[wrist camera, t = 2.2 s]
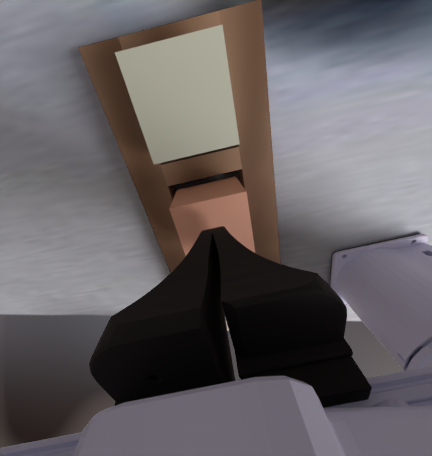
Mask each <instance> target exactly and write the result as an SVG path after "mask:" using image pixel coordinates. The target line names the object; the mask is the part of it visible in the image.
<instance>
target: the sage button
mask: <svg viewBox="0 0 432 456" xmlns="http://www.w3.org/2000/svg"><path fill="white" fill-rule="evenodd" d="M115 55H116V58H117V61H118V63H119V66H120V69H121V72H122V75H123V78H124V81H125V84H126V86H127V89H128V92H129V95H130V98H131V101H132V104H133V107H134V109H135V112H136V115H137V118H138V121H139V124H140V127H141V129H142V132H143V135H144V138H145V141H146V144H147V147H148V150H149V152H150V155H151V158H152V161H153V164H158V163H162V162H167V161H171V160H175V159H179V158H183V157H188V156H192V155H196V154H200V153H205V152H209V151H213V150H217V149H222V148H226V147H230V146H234V145H238V144H240V143H239V136H238V129H237V122H236V115H235V108H234V101H233V94H232V87H231V80H230V73H229V67H228V60H227V53H226V46H225V39H224V32H223V25H219V26H215V27H211V28H207V29H203V30H200V31H196V32H192V33H188V34H184V35H180V36H176V37H173V38H169V39H165V40H161V41H157V42H153V43H150V44H146V45H142V46H138V47H134V48H130V49H127V50H123V51H119V52H115Z"/></svg>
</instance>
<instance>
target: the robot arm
mask: <svg viewBox="0 0 432 456" xmlns="http://www.w3.org/2000/svg"><path fill="white" fill-rule="evenodd" d="M427 241H428V236H427V235H425V234H419V235H414V236H409V237H404V238H400V239H395V240H390V241H386V242H381V243H376V244H371V245H367V246H362V247H357V248H352V249H348V250H343V251H338V252H335V253H334V254H333V257H332V270H331V282H330V286H329V284H328V283H326V282H325V281H324V280H323V279H322V278H321V277H320V276H319V275H318V274H317V273H313V272H309V271H304V270H300V269H295V268H291V267H288V266H285V265H282V264H279V263H276V262H273V261H271V260H268V259H266V258H264V257H262V256H260V255H258V254H256V253H254V252H252V251H251V250H249V249H248V248H246V247H245V246H244V245H242V244H241V243H240V242H239V241H238V240H236V239H235V238H234V237H233V236H232V235H231V234H230V233H229V232H228V230H227V229H226V227H224V226H221V227H216V228H212V229H207V230H203V231H201V233H200V234H199V236H198V238H197V240H196V241H195V243H194V245H193V246H192V248H191V249H190V251H189V252H188V254H187V255H186V257H185V258H184V259H183V260H182V262H181V263H180V264H179V265H178V266H177V267H176V268H175V269H174V271H173V272H172V273H171V274H169V275H168V276H167V277H166V278H165V279H164V280H163V281H162V282H161V283H160V284H158V285H157V286H156V287H155V288H153V289H152V290H151V291H150V292H148V293H147V294H146V295H144V296H143V297H141V298H140V299H139V300H137V301H136V302H134V303H133V304H131V305H129V306H128V307H126V308H125V309H123V310H122V311H120V312H118V313H117V314H115V315H113V316H112V317H111V318H110V320H109V322H108V324H107V326H106V328H105V330H104V332H103V334H102V336H101V338H100V341H99V343H98V345H97V347H96V349H95V351H94V353H93V355H92V357H91V360H90V364H89V365H90V371H91V374H92V376H93V377H94V378H95V380H96V381H97V382H98V383H99V385H100V386H102V388H103V389H104V390H105V391H106V392H107V393H108V394H109V395H110V396H111V397H112V398H113V399H114V400H115V401H116V402H115V406H113V407H111V408H108V409H105V410H102V411H100V412H99V413H98V414H96V415H95V416H94V417H93V418H92V419H91V420H90V422H89V423H88V425H87V426H86V427H85V428H84V430H83V432H82V433H77V434H71V435H66V436H61V437H55V438H51V439H45V440H40V441H35V442H29V443H24V444H19V445H13V446H9V447H4V448H0V456H432V246H430V245H428V244H427ZM347 304H348V305H349V306H350V307H351V308H352V309H353V311H354V312H355V313H356V314H357V315H358V317H359V318H360V319H361V320H362V321H363V323H364V324H365V325H366V326H367V327H368V328H369V330H370V331H371V332H372V333H373V334H374V336H375V337H376V338H377V339H378V340H379V342H380V343H381V344H382V345H383V346H384V347H385V349H386V350H387V351H388V352H389V353H390V355H391V356H392V357H393V358H394V359H395V361H396V362H397V363H398V364H399V365H400V367H401V368H402V369H403V370H404V371H402V372H397V373H392V374H386V375H381V376H376V377H371V378H365V376H364V375H363V373H362V372H361V370H360V369H359V367H358V366H357V364H356V363H355V361H354V360H353V358H352V357H351V356H352V354H353V352H352V349H351V348H350V346H349V345H348V343H347V342H346V341H345V339H344V332H345V325H346V319H347V308H346V306H345V305H347ZM225 317H226V319H225ZM226 321H227V325H228V328H229V332H230V335H231V339H232V342H233V346H234V349H235V355H236V361H237V368H238V373H239V377H240V378H241V380H238V381H235V377H234V370H233V364H232V357H231V352H230V345H229V340H228V339H229V338H228V332H227V325H226Z"/></svg>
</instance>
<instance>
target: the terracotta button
mask: <svg viewBox="0 0 432 456" xmlns="http://www.w3.org/2000/svg"><path fill="white" fill-rule="evenodd" d="M169 210H170V213H171V216H172V218H173V221H174V224H175V227H176V230H177V233H178V236H179V238H180V241H181V244H182V247H183V250H184V253H185V256H186V255H187V254H188V252H189V251H190V249H191V248H192V246H193V245H194V243H195V241H196V240H197V238H198V236H199V234H200V233H201V231H203V230H207V229H212V228H216V227H221V226H224V227H226V229H227V230H228V232H229V233H230V234H231V235H232V236H233V237H234V238H235V239H236V240H238V241H239V242H240V243H241V244H242V245H244V246H245V247H246V248H248V249H249V250H251V251H252V252H254V253H255V247H254V240H253V233H252V226H251V219H250V212H249V205H248V198H247V191H246V190H245V189H244V187H243V186H242V185H241V183H240V182H239V180H238V179H237V178H236V176H235V177H230V178H226V179H222V180H217V181H213V182H209V183H204V184H200V185H196V186H191V187H187V188H183V189H178V190H177V191H176V194H175V196H174V199H173V201H172V203H171V206H170V208H169Z"/></svg>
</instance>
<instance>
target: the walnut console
mask: <svg viewBox="0 0 432 456" xmlns="http://www.w3.org/2000/svg"><path fill="white" fill-rule="evenodd" d="M219 25H223V32H224V39H225V46H226V53H227V60H228V67H229V73H230V80H231V87H232V94H233V101H234V108H235V115H236V122H237V129H238V136H239V143H240V144H238V145H234V146H230V147H226V148H222V149H217V150H213V151H209V152H205V153H200V154H196V155H192V156H188V157H183V158H179V159H175V160H171V161H167V162H162V163H158V164H153V161H152V158H151V155H150V152H149V150H148V147H147V144H146V141H145V138H144V135H143V132H142V129H141V127H140V124H139V121H138V118H137V115H136V112H135V109H134V107H133V104H132V101H131V98H130V95H129V92H128V89H127V86H126V84H125V81H124V78H123V75H122V72H121V69H120V66H119V63H118V61H117V58H116V55H115V52H119V51H123V50H127V49H130V48H134V47H138V46H142V45H146V44H150V43H153V42H157V41H161V40H165V39H169V38H173V37H176V36H180V35H184V34H188V33H192V32H196V31H200V30H203V29H207V28H211V27H215V26H219ZM78 49H79V51H80V54H81V56H82V58H83V61H84V63H85V66H86V68H87V71H88V73H89V75H90V78H91V80H92V83H93V85H94V88H95V90H96V92H97V95H98V97H99V100H100V102H101V105H102V107H103V109H104V112H105V114H106V117H107V119H108V122H109V124H110V126H111V129H112V131H113V134H114V136H115V139H116V141H117V143H118V146H119V148H120V151H121V153H122V156H123V158H124V160H125V163H126V165H127V168H128V170H129V173H130V175H131V177H132V180H133V182H134V185H135V187H136V190H137V192H138V194H139V197H140V199H141V202H142V204H143V206H144V209H145V211H146V214H147V216H148V219H149V221H150V223H151V226H152V228H153V231H154V233H155V236H156V238H157V240H158V243H159V245H160V248H161V250H162V253H163V255H164V257H165V260H166V262H167V265H168V267H169V270H170V272H171V273H172V272H173V271H174V269H175V268H176V267H177V266H178V265H179V264H180V263H181V262H182V260H183V259H184V258H185V257H186V256H185V253H184V250H183V247H182V244H181V241H180V238H179V236H178V233H177V230H176V227H175V224H174V221H173V218H172V216H171V213H170V210H169V208H170V206H171V203H172V201H173V199H174V196H175V194H176V192H175V189H174V186H173V185H175V184H180V183H184V182H188V181H193V180H197V179H201V178H206V177H210V176H214V175H219V174H223V173H227V172H231V171H236V170H238V171H239V177H240V183H241V185H242V186H243V187H244V189H245V190H246V191H247V198H248V205H249V212H250V219H251V226H252V233H253V240H254V247H255V253H256V254H258V255H260V256H262V257H264V258H266V259H268V260H271V261H273V262H276V263H279V264H281V262H280V248H279V235H278V221H277V208H276V194H275V181H274V167H273V154H272V140H271V127H270V113H269V100H268V86H267V72H266V59H265V45H264V32H263V18H262V5H261V0H257V1H253V2H250V3H246V4H242V5H238V6H234V7H231V8H227V9H223V10H219V11H215V12H212V13H208V14H204V15H200V16H196V17H193V18H189V19H185V20H181V21H177V22H174V23H170V24H166V25H162V26H158V27H155V28H151V29H147V30H143V31H139V32H136V33H132V34H128V35H124V36H120V37H117V38H113V39H109V40H105V41H101V42H98V43H94V44H90V45H86V46H82V47H79V48H78Z"/></svg>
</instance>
